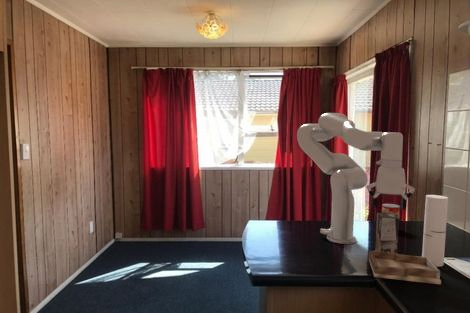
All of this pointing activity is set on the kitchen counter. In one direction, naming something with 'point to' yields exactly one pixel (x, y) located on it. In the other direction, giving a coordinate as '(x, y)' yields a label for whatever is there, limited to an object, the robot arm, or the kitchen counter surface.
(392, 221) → the coffee box
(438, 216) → the cylindrical container
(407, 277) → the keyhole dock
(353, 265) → the kitchen counter surface
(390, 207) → the canned food
